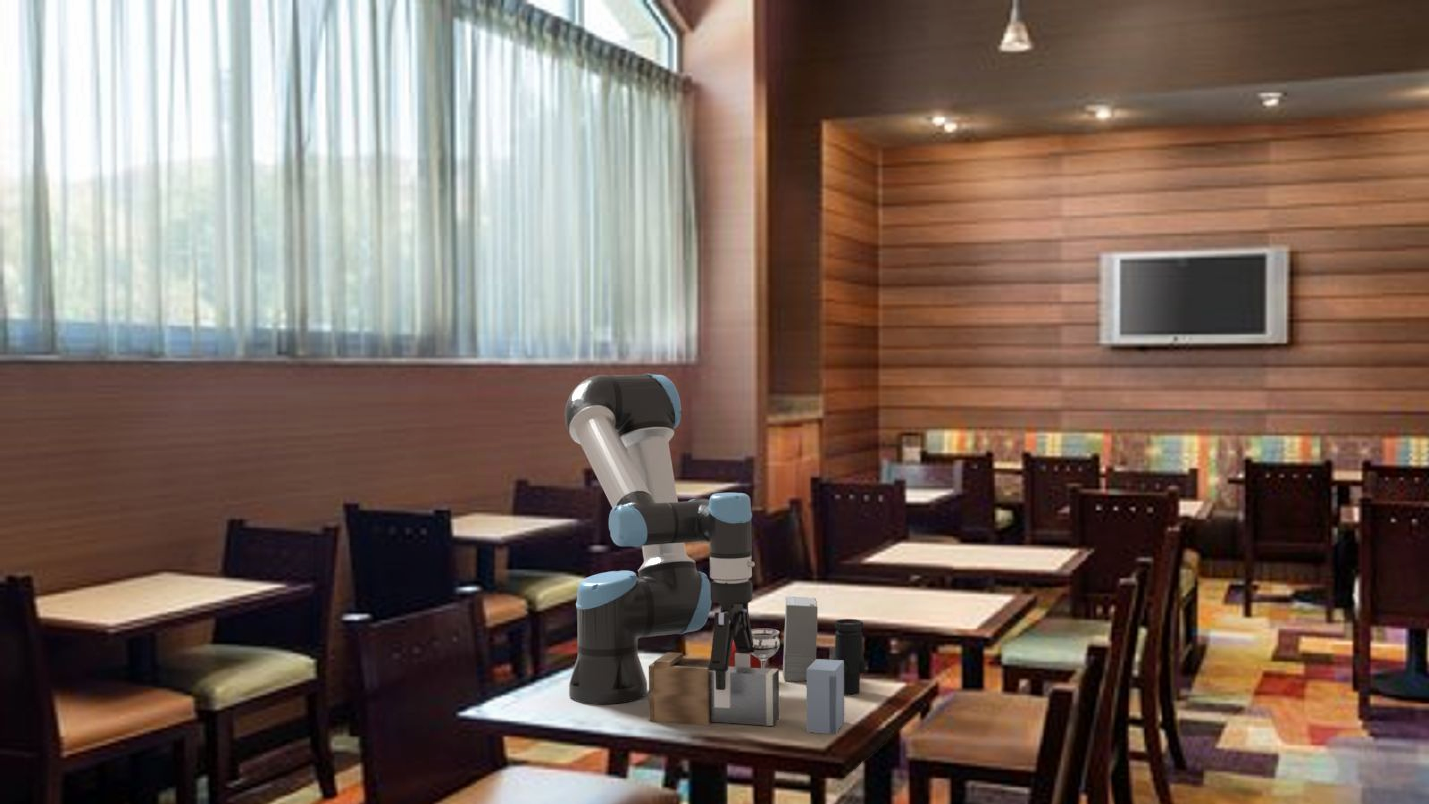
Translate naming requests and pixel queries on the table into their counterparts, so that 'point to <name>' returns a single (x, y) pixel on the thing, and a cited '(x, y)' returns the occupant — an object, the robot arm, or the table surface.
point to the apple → (753, 660)
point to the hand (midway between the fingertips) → (733, 698)
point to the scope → (850, 653)
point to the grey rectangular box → (747, 696)
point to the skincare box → (799, 637)
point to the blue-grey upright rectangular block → (825, 696)
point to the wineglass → (765, 644)
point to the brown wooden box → (679, 690)
